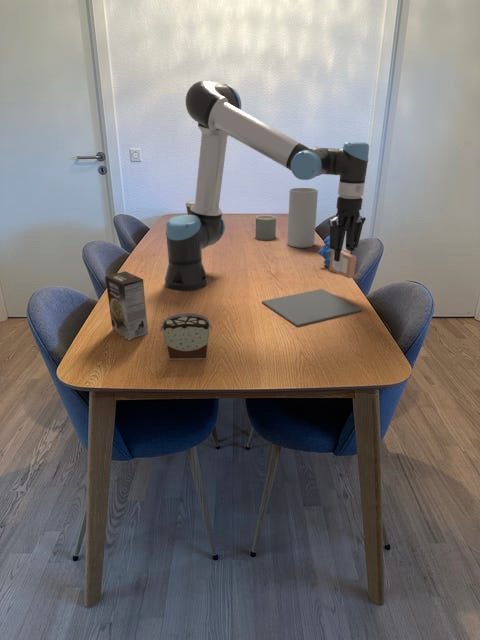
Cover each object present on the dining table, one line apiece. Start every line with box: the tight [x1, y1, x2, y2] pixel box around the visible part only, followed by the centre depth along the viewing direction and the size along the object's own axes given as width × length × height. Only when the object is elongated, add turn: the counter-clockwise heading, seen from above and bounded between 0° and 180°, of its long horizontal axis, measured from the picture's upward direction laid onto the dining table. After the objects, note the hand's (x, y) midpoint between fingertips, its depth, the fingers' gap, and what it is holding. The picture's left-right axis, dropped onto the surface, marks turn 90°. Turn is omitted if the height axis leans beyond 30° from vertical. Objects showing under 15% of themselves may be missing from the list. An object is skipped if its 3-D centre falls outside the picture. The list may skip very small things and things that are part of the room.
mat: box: [261, 288, 363, 328], centre depth 136 cm, size 24×20×1 cm
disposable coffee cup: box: [185, 200, 195, 215], centre depth 242 cm, size 10×10×12 cm
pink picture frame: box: [328, 249, 358, 279], centre depth 141 cm, size 10×2×7 cm, turn 27°
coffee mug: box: [255, 214, 277, 241], centre depth 216 cm, size 13×10×10 cm
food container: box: [160, 312, 213, 361], centre depth 108 cm, size 12×6×10 cm, turn 92°
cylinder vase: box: [286, 187, 319, 249], centre depth 199 cm, size 12×12×25 cm
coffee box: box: [104, 270, 149, 340], centre depth 117 cm, size 9×6×16 cm
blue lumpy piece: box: [318, 235, 331, 268], centre depth 172 cm, size 12×7×12 cm, turn 4°
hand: (341, 269), depth 143 cm, fingers closed on pink picture frame, 2 cm apart
